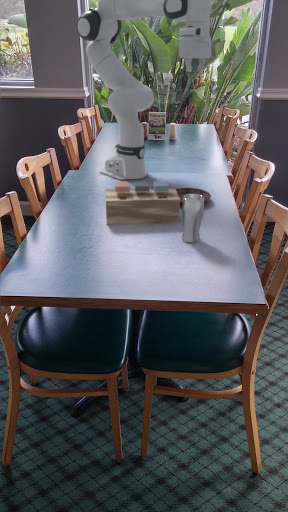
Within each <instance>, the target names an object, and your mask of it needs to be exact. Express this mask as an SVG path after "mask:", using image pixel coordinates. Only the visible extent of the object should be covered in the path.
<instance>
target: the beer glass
mask: <svg viewBox="0 0 288 512" xmlns="http://www.w3.org/2000/svg"><path fill="white" fill-rule="evenodd" d="M181 207H182V208H181V210H182V211H181V216H182V223H183V224H182V225H183V231H182V236H181V241H182V242H184V241H185V243H187V242H190V243H189V244H194V243H193V242H197V243H199V242H200V241H199V240H201V237H200V228H201V224H202V221H203V217H204V210H205V204H204V197H203V196H202V195H199V194H187V195H184V198H183V205H182V206H181ZM198 241H199V242H198Z"/></svg>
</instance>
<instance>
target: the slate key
mask: <svg viewBox="0 0 288 512" xmlns="http://www.w3.org/2000/svg"><path fill="white" fill-rule="evenodd" d="M152 185H153V188H154V191H169V188H170V186H169V183H168V181H166V180H165V181H162V180H161V181H153V183H152Z"/></svg>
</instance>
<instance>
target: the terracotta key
mask: <svg viewBox="0 0 288 512" xmlns="http://www.w3.org/2000/svg"><path fill="white" fill-rule="evenodd" d="M114 187H115V188H114V189H115V190H116V192H130V189H131V188H130V187H131V186H130V182H129V181H115V182H114Z"/></svg>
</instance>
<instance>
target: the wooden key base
mask: <svg viewBox="0 0 288 512" xmlns="http://www.w3.org/2000/svg"><path fill="white" fill-rule="evenodd" d="M176 189H177V188H175V187H169V191H154V187H153V188H151V187H149V192H135V188H130V192H116V190H115V188H106V189H105V213H106V216H105V218H106V219H105V220H106V226H107V225H134V224H135V225H143V224H150V225H151V224H179V222H180V207H181V206H180V198H179V196H178V194H177V191H176Z"/></svg>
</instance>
